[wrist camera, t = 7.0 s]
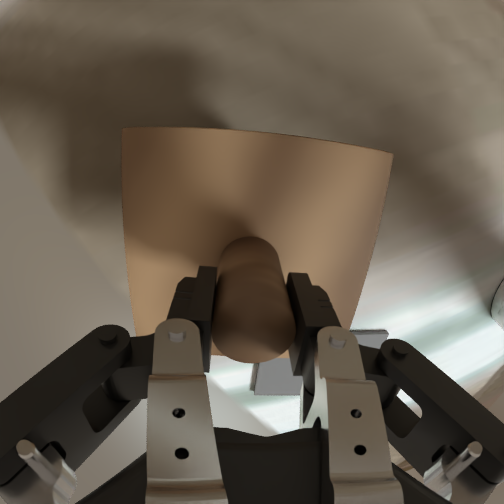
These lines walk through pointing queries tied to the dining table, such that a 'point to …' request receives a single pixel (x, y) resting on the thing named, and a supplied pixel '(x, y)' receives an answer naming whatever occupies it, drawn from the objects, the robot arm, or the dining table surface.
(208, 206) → the lid
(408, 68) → the dining table surface
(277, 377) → the mat
